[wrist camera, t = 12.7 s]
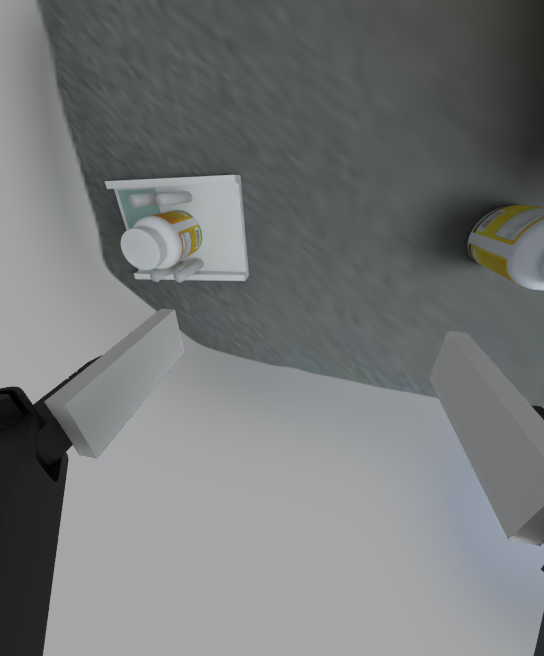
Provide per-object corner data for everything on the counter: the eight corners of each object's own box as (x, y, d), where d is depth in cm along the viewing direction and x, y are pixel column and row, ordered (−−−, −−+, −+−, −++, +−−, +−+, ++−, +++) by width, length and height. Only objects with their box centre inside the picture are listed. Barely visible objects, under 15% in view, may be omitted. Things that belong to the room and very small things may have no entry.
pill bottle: (502, 272, 30) (591, 317, 20) (451, 253, 30) (516, 289, 20) (550, 216, 27) (685, 237, 17) (493, 193, 27) (596, 202, 17)
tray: (144, 274, 38) (111, 291, 32) (117, 181, 32) (70, 181, 26) (248, 275, 35) (234, 295, 30) (240, 175, 30) (219, 173, 24)
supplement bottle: (155, 225, 33) (101, 241, 25) (184, 200, 31) (136, 207, 23) (183, 261, 35) (142, 286, 27) (212, 239, 33) (177, 259, 24)
